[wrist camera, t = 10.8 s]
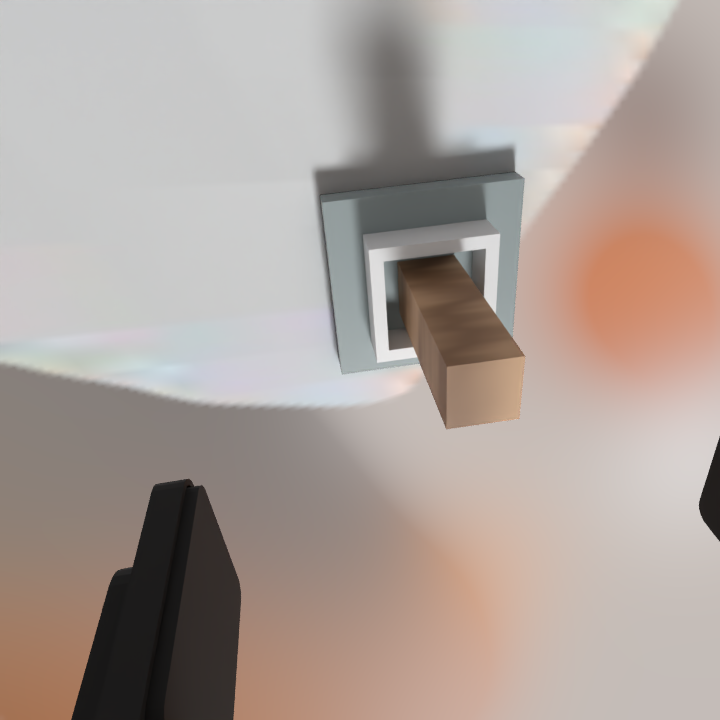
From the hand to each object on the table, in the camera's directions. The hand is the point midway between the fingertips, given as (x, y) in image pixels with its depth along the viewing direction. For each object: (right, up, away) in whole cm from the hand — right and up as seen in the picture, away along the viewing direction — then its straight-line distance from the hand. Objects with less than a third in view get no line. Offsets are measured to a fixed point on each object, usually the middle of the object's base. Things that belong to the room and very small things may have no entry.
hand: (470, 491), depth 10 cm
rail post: (+2, +7, +27) cm, 28 cm away
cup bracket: (+2, +8, +28) cm, 29 cm away
